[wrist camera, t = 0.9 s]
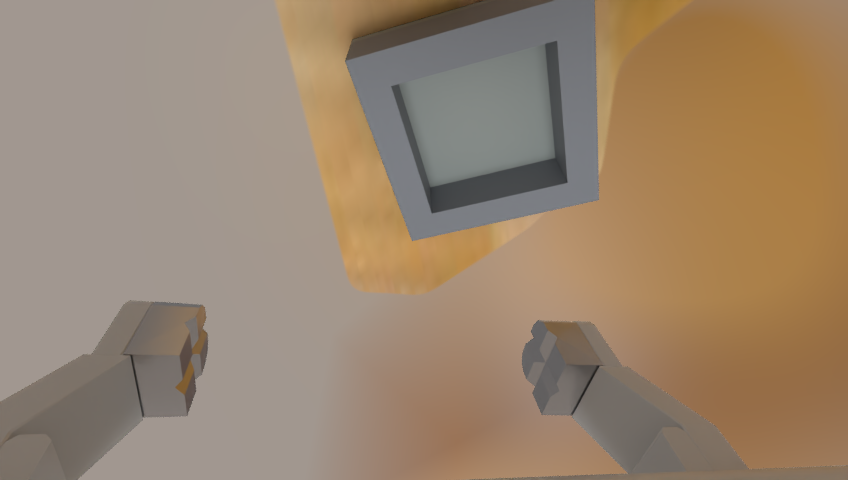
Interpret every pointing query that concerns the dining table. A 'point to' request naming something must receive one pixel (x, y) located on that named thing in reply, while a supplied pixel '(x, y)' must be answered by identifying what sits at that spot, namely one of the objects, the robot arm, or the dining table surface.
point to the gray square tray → (483, 111)
